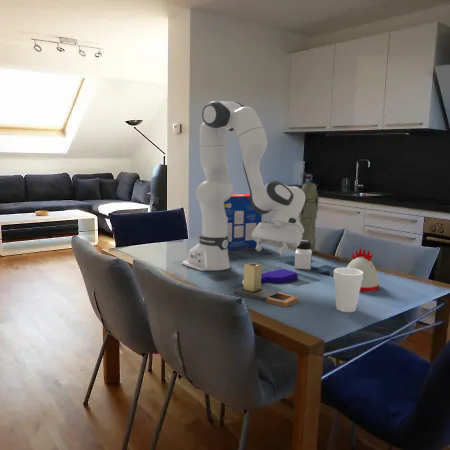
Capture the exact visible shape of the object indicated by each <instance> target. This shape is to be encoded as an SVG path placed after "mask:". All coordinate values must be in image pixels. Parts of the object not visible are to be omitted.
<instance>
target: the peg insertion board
mask: <svg viewBox="0 0 450 450" xmlns="http://www.w3.org/2000/svg"><path fill="white" fill-rule="evenodd" d="M234 295H239V296H243V297H246V298H251V299H254V300H258V301H262V302H265V303H269V304H272V305H277V306H281V307H284V308H287V307H289V306H291V305H294V304H296V303H297V302H299V297H298V296H294V295H291V294H286V293H282V292H279V291H275V290H270V289H266V288H262V287H261V291H259V292H257V293H250V292H246V291H244V285H243V286H239V287H238V288H235V289H234ZM277 298H280V299H277ZM281 299H283V300H281Z"/></svg>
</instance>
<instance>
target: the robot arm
mask: <svg viewBox="0 0 450 450" xmlns="http://www.w3.org/2000/svg"><path fill="white" fill-rule="evenodd" d="M201 111H202V112H201V117H202V121H203V122H202V124H201V125H200V129H199V157H200V158H199V159H200V166H201V168H202V170H203V173H204V177H205V180H204V181H203V182H201V183H200V184H199V185H198V186H197V187H196V191H195V197H196V200H197V201H198V203H199V207H200V212H201V218H202V219H201V220H202V221H201V227H202V228H201V229H202V230H201V231H202V232H201V233H202V234H201V235H200V236H197V240H199V243H197V244H196V245H195V246H193V247H191V248H190V249H189V250H188V253H187V259H184V260H183V261H182V263H181V264H182V265H184V266H186V267H189V268H193V269H195V270H197V271H200V272H201V271H202V272H203V271H204V272H205V271H224V270H228V269H230V268H231V267H232V266H231V262H230V258H229V251H228V235H227V224H228V219H227V216H226V213H225V208H224V202H225V201H227V200H228V199H229V198H230V197H231V196H232V195H234V194H233V193H234V186H233V183H232V182H231V177H230V174H229V173H230V172H229V168H228V164H227V152H226V151H227V150H226V149H227V148H226V133H227V132H228V131H230V132H233V131H234V132H235V135H236V137H237V141H238V144H239V147H240V151H241V160H242V166H243V171H244V174H245V175H244V176H245V179H246V181H247V186H248V189H249V194H250V203H251V206H252V208H253V209H254V210H255V211H256V212H258V213H260V214H262V215H265V214H268V213H271V211H272V210H275V212H274V215H273V217H272V218H271V220H270V221H267V220H262V221H261V222H260V223H259V224H258V225H257V226H256V228H255V229H254V230H253V232H252V234H251V236H252V238H253V240H254V241H256V242H257V246H256V248H255V250H256V252H261V251H262V249H263V248H262V246H260V244H261V245H263V243H264V244H269V245H276V246H281V247H280V248H277V250H276V254H277V255H279V256H282V254H283V252H285V251H286V250H288V249H289V248H295V249H297V247H298V246H299V244H300V242H301V240H302V234H303V232H304V228H303V226H302V224H301V223H300V219H298V217H299V214H300V213H301V211H302V208H303V206H304V203H305V194H304V192H303V191H302V188H300V187H298V186H295V185H294V186H289V185H287V184H284V183H283V182H282V181H279V180H272V181H269V182H267V183H266V184H264V180H263V176H262V173H261V169H260V165H261V160H262V158H263V156H264V154H265V152H266V150H267V147H268V138H267V134H266V131H265V129H264V126H263V124H262V122H261V120H260V118H259V116H258V114H257V112H256V111H255V110H254V109H253V108H252V106H245V105H244V104H242V103H240V102H235V101H229V100H225V101H224V100H223V101H222V100H221V101H218V100H217V101H216V100H214V101H210V102H208V103H206V104H205V105H204V107H203V109H202V110H201Z"/></svg>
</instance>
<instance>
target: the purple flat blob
mask: <svg viewBox="0 0 450 450" xmlns="http://www.w3.org/2000/svg"><path fill="white" fill-rule="evenodd" d="M298 278H299V276H298V273H297V272H296V271H293V270H289V269H286V268H278V269H275V270H269V271H265V272H263V273H262V272H261V284H262V283H270V284H285V283H289V282H293V281H296V280H298ZM241 281H242V283H241V284H242V285H243V286H244V279H243V280H241Z"/></svg>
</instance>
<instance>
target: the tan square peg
mask: <svg viewBox="0 0 450 450" xmlns="http://www.w3.org/2000/svg"><path fill="white" fill-rule="evenodd" d="M261 274H262V264H259V263H255V262H249V263H246V264H244V265H243V280H244V285H243V286H244V291H246V292H250V293H257V292H259V291H261V288H262V283H261Z"/></svg>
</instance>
